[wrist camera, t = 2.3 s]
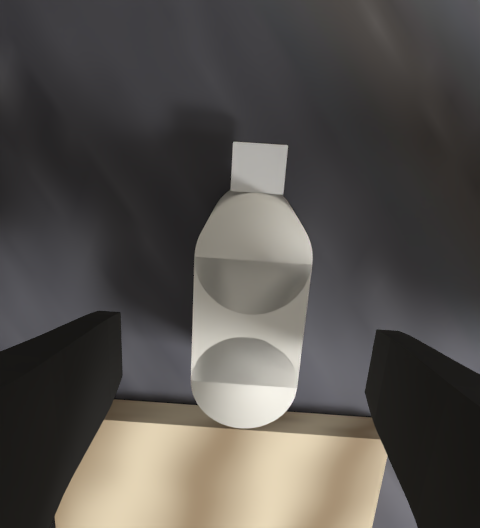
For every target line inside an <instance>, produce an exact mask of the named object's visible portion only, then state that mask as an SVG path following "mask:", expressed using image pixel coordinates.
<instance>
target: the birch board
mask: <svg viewBox="0 0 480 528" xmlns="http://www.w3.org/2000/svg"><path fill="white" fill-rule="evenodd" d="M387 456H388V455H387V453H386V451H385V449H384V446H383V444H382V442H381V440H380V437H379V435H378V433H377V430H376V428H375V426H374V423H373V420H372V418H371V417H357V416H343V415H329V414H315V413H301V412H285V413H284V414H283V415H282V416H280V417H279V418H278V419H276V420H275V421H273V422H271V423H269V424H266V425H263V426H260V427H255V428H234V427H230V426H226V425H223V424H221V423H219V422H217V421H215V420H213V419H212V418H210V417H209V416H208V415H207V414H205V413H204V412H203V410H202V409H201V408H200V407H199V405H187V404H173V403H159V402H145V401H131V400H117V399H114V400H113V403H112V405H111V407H110V409H109V411H108V413H107V415H106V417H105V419H104V420H103V422H102V424H101V426H100V428H99V430H98V432H97V433H96V435H95V437H94V439H93V441H92V442H91V444H90V446H89V448H88V450H87V452H86V453H85V455H84V457H83V459H82V461H81V462H80V464H79V466H78V468H77V470H76V472H75V473H74V475H73V477H72V479H71V481H70V483H69V485H68V487H67V489H66V491H65V493H64V495H63V497H62V500H61V502H60V505H59V507H58V509H57V512H56V514H55V525H56V528H372V524H373V519H374V515H375V510H376V506H377V501H378V497H379V492H380V488H381V483H382V478H383V474H384V469H385V465H386V460H387Z"/></svg>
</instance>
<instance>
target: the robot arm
mask: <svg viewBox="0 0 480 528" xmlns="http://www.w3.org/2000/svg"><path fill="white" fill-rule="evenodd" d="M121 378H122V346H121V315H120V312H109V311H97V312H93V313H90V314H88V315H85V316H83V317H80V318H78V319H76V320H74V321H71V322H69V323H67V324H65V325H62V326H60V327H58V328H56V329H54V330H51V331H49V332H47V333H45V334H42V335H40V336H38V337H35V338H33V339H30V340H28V341H25V342H23V343H20V344H18V345H15V346H13V347H11V348H8V349H6V350H3V351H0V528H50V526H51V523H52V521H53V519H54V516H55V514H56V512H57V509H58V507H59V505H60V502H61V500H62V497H63V495H64V493H65V491H66V489H67V487H68V485H69V483H70V481H71V479H72V477H73V475H74V473H75V472H76V470H77V468H78V466H79V464H80V462H81V461H82V459H83V457H84V455H85V453H86V452H87V450H88V448H89V446H90V444H91V442H92V441H93V439H94V437H95V435H96V433H97V432H98V430H99V428H100V426H101V424H102V422H103V420H104V419H105V417H106V415H107V413H108V411H109V409H110V407H111V405H112V403H113V400H114V397H115V395H116V392H117V390H118V387H119V384H120V381H121ZM365 394H366V398H367V402H368V406H369V410H370V413H371V416H372V420H373V423H374V426H375V428H376V430H377V433H378V435H379V437H380V440H381V442H382V444H383V446H384V449H385V451H386V453H387V455H388V458H389V460H390V462H391V464H392V467H393V469H394V471H395V473H396V476H397V478H398V480H399V482H400V484H401V487H402V489H403V491H404V493H405V496H406V498H407V500H408V503H409V505H410V508H411V510H412V513H413V515H414V518H415V520H416V523H417V526H418V528H480V374H478V373H476V372H474V371H472V370H470V369H469V368H467V367H465V366H463V365H461V364H459V363H458V362H456V361H454V360H452V359H451V358H449V357H447V356H445V355H443V354H442V353H440V352H438V351H436V350H435V349H433V348H431V347H429V346H428V345H426V344H424V343H422V342H421V341H419V340H417V339H415V338H413V337H411V336H409V335H407V334H405V333H402V332H400V331H391V330H376V335H375V340H374V346H373V351H372V357H371V362H370V367H369V373H368V378H367V384H366V389H365Z"/></svg>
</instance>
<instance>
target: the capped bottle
mask: <svg viewBox="0 0 480 528" xmlns="http://www.w3.org/2000/svg"><path fill="white" fill-rule="evenodd" d="M287 151H288V145H278V144H262V143H247V142H233V154H232V172H231V190H229V191H228V192H227V193H225V194H224V195H223V196H222V197H221V198H220V200H219V201H218V202H217V204H216V206H215V208H214V209H213V211H212V213H211V215H210V217H209V219H208V221H207V222H206V224H205V226H204V228H203V230H202V232H201V233H200V235H199V238H198V241H197V244H196V248H195V256H194V291H193V326H192V361H191V388H192V393H193V396H194V398H195V400H196V402H197V404H198V405H199V407H200V408H201V409H202V410H203V412H204V413H205V414H207V415H208V416H209V417H210V418H212V419H213V420H215V421H217V422H219V423H221V424H223V425H226V426H230V427H234V428H255V427H260V426H263V425H266V424H269V423H271V422H273V421H275V420H276V419H278V418H279V417H280V416H282V415H283V414H284V413H285V412H286V411H287V410H288V408H289V407H290V406H291V404H292V402H293V400H294V398H295V395H296V390H297V384H298V376H299V368H300V360H301V352H302V343H303V335H304V327H305V319H306V311H307V303H308V295H309V287H310V279H311V271H312V261H313V255H312V247H311V243H310V240H309V237H308V235H307V233H306V231H305V229H304V228H303V226H302V224H301V223H300V221H299V219H298V217H297V216H296V214H295V212H294V211H293V209H292V207H291V206H290V204H289V202H288V201H287V200H286V198H285V197H284V196H283V193H284V183H285V172H286V162H287Z"/></svg>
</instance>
